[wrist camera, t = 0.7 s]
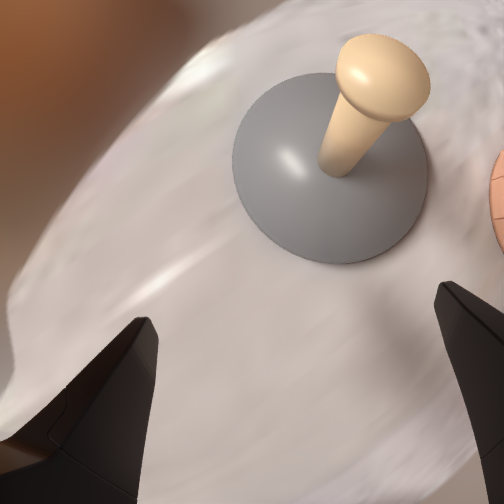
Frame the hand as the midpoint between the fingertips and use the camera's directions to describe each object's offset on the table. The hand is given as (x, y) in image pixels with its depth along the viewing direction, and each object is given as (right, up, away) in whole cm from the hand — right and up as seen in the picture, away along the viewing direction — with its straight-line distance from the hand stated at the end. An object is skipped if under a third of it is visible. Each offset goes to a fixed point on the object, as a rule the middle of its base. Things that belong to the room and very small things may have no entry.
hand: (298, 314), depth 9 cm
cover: (+4, +8, +13) cm, 16 cm away
